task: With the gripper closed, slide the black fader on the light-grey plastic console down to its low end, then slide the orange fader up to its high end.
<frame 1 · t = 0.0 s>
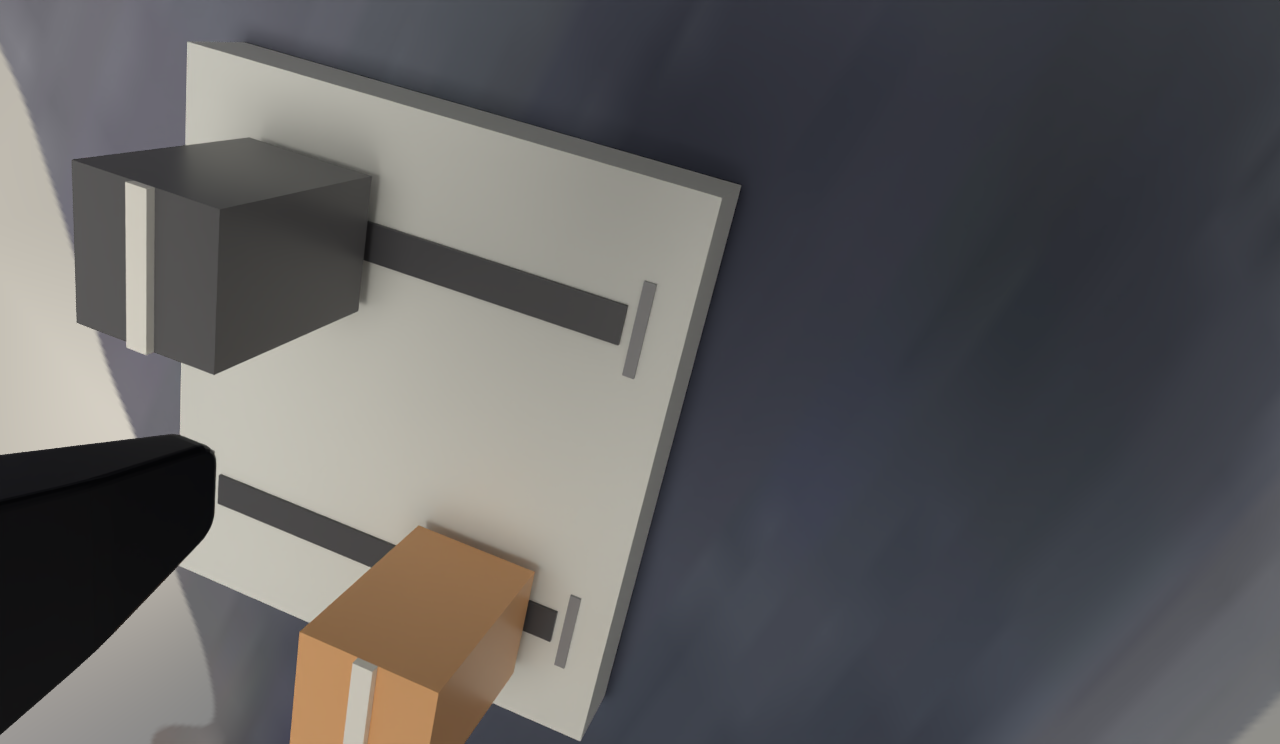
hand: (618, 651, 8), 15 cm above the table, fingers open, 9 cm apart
orange fader: (416, 657, 23), point 5 cm above the table, slide at -3.0 cm
console: (436, 390, 26), on the table
black fader: (229, 245, 20), point 5 cm above the table, slide at 3.0 cm
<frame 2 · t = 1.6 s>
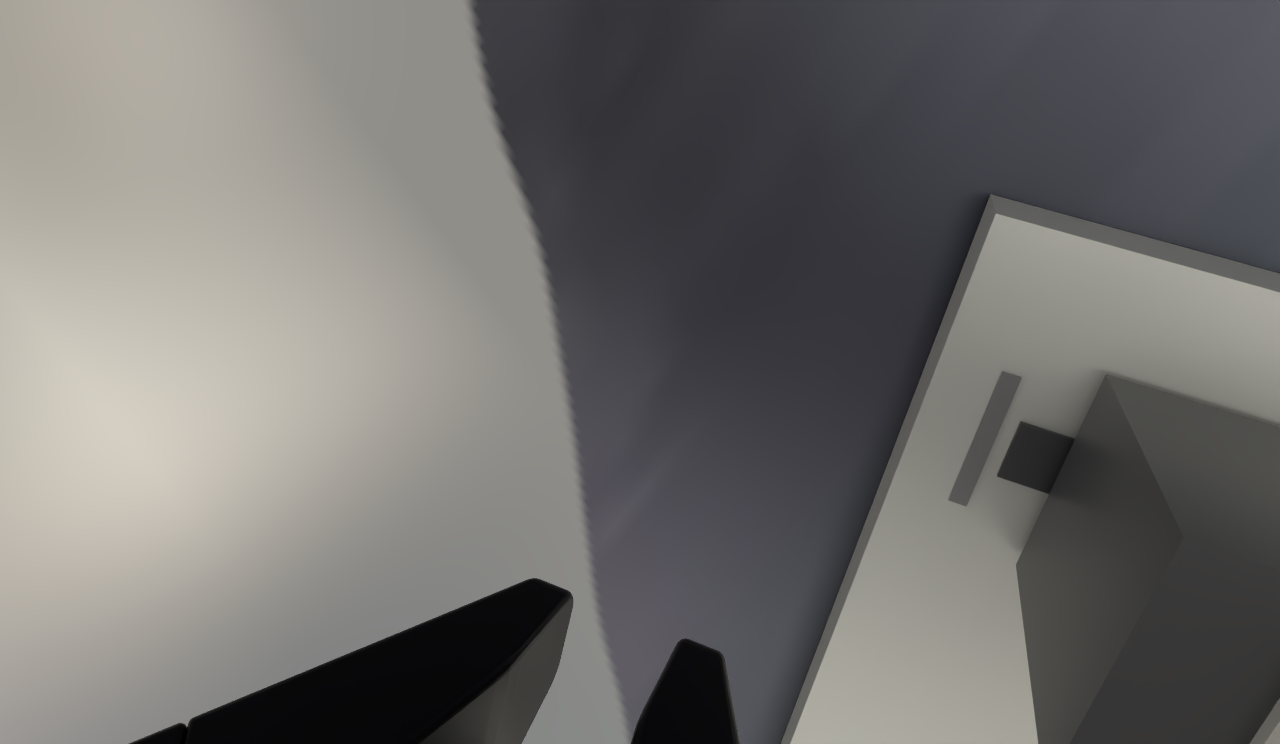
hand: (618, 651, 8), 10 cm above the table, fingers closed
console: (1206, 708, 17), on the table
black fader: (1222, 608, 11), point 5 cm above the table, slide at 3.0 cm
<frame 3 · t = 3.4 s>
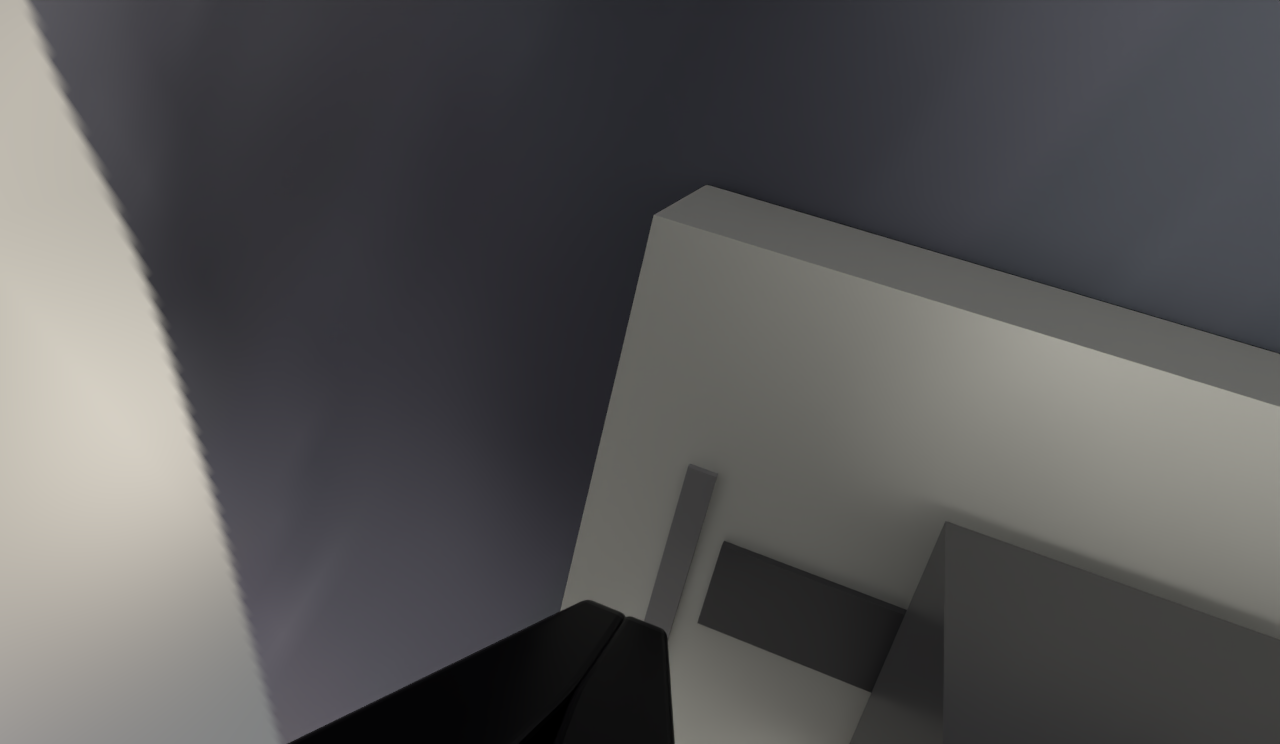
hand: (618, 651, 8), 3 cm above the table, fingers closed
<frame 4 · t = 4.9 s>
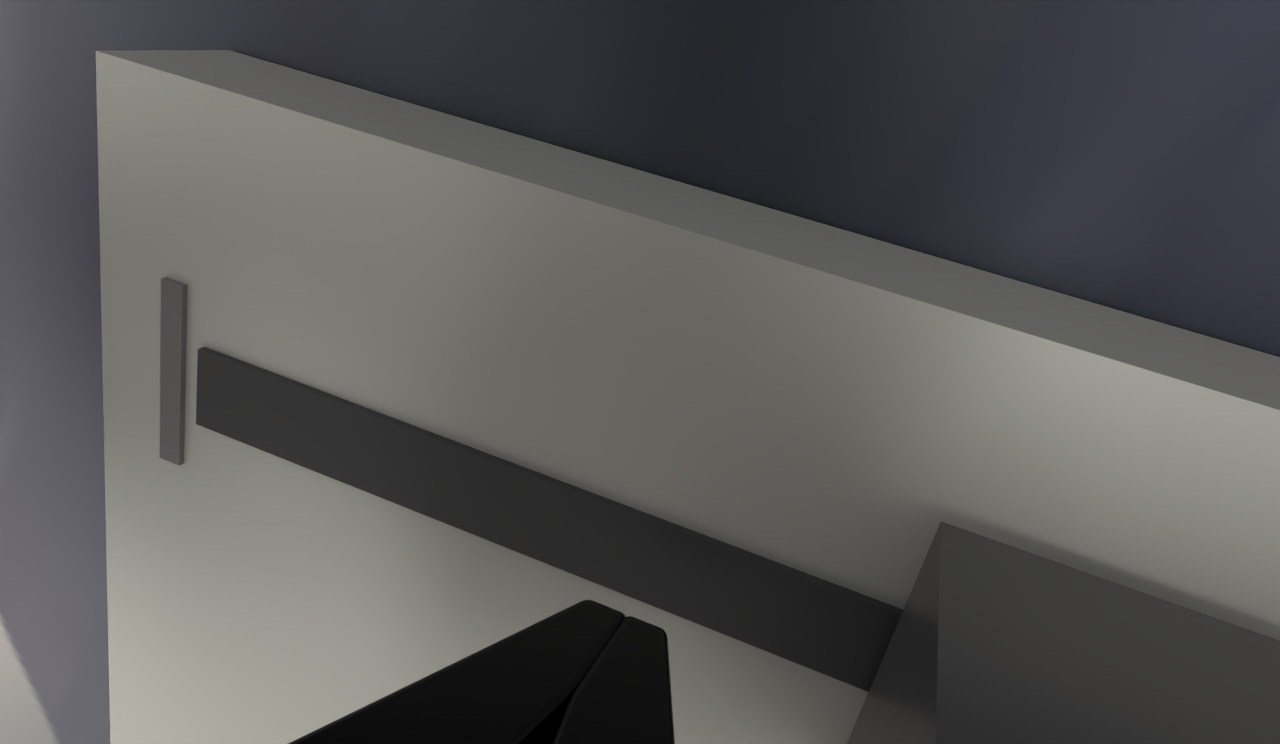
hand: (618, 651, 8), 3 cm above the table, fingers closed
console: (607, 731, 13), on the table
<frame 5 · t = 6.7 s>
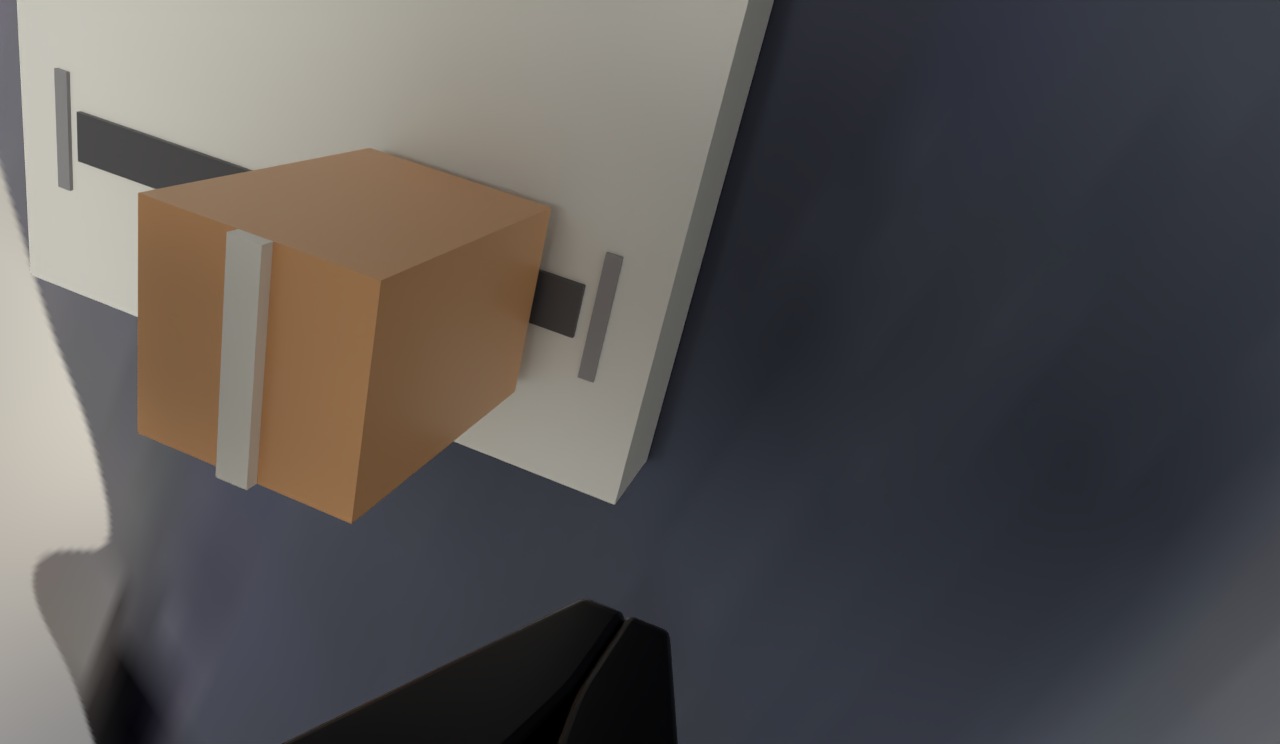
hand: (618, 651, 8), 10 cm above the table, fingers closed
orange fader: (358, 312, 14), point 5 cm above the table, slide at -3.0 cm
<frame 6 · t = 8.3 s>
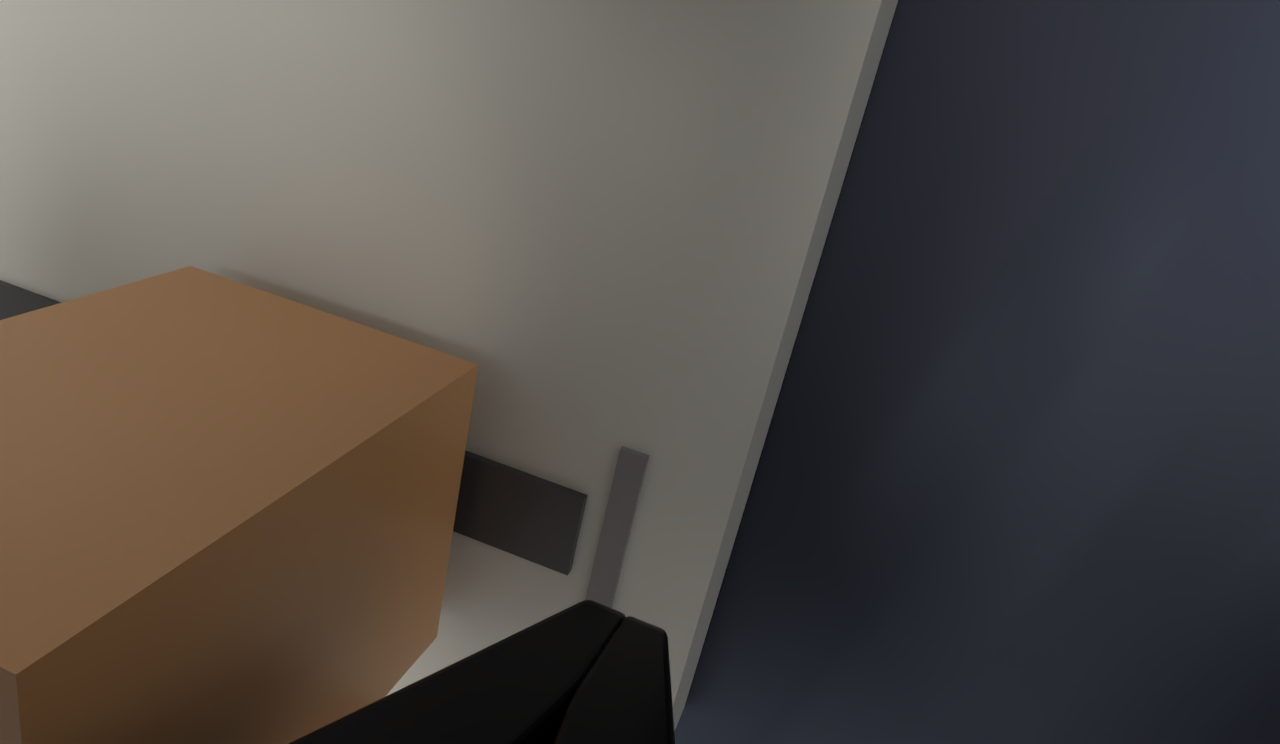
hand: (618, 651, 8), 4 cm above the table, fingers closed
orange fader: (127, 580, 8), point 5 cm above the table, slide at -2.5 cm, touching gripper
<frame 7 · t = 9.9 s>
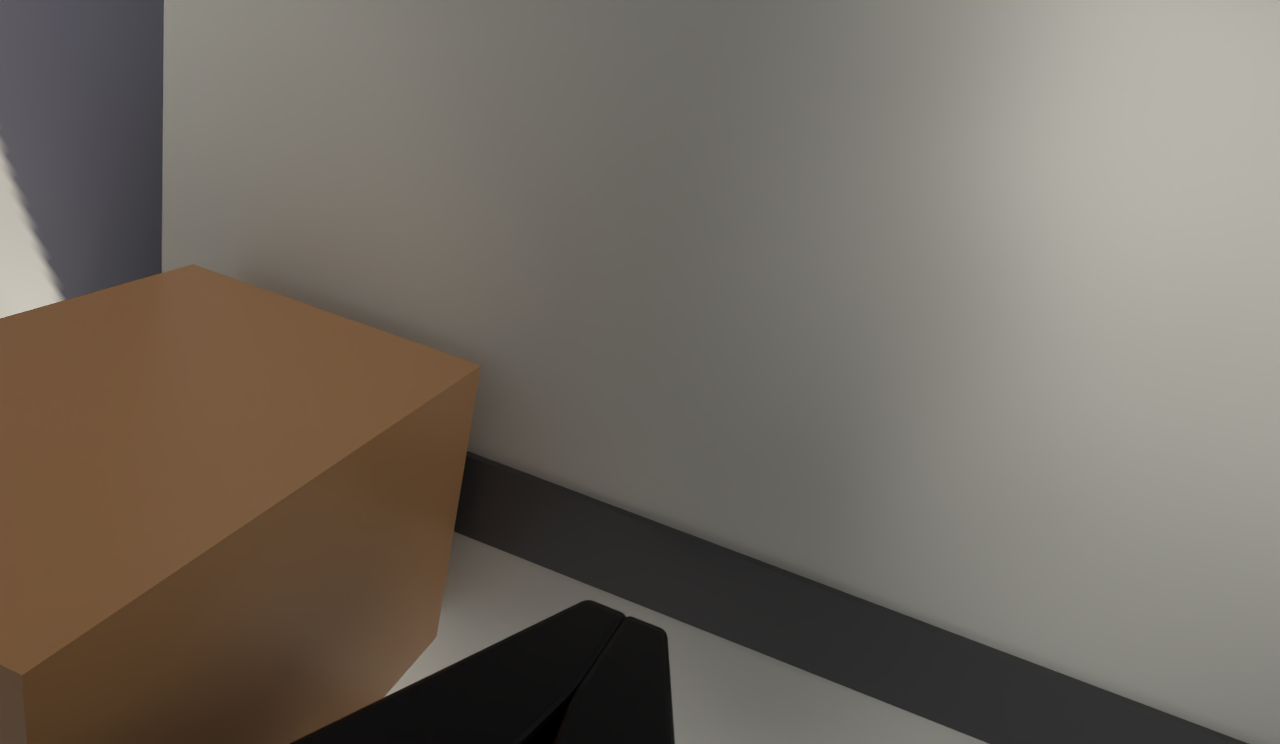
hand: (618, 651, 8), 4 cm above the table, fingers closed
orange fader: (129, 578, 8), point 5 cm above the table, slide at 4.5 cm, touching gripper
console: (852, 141, 10), on the table
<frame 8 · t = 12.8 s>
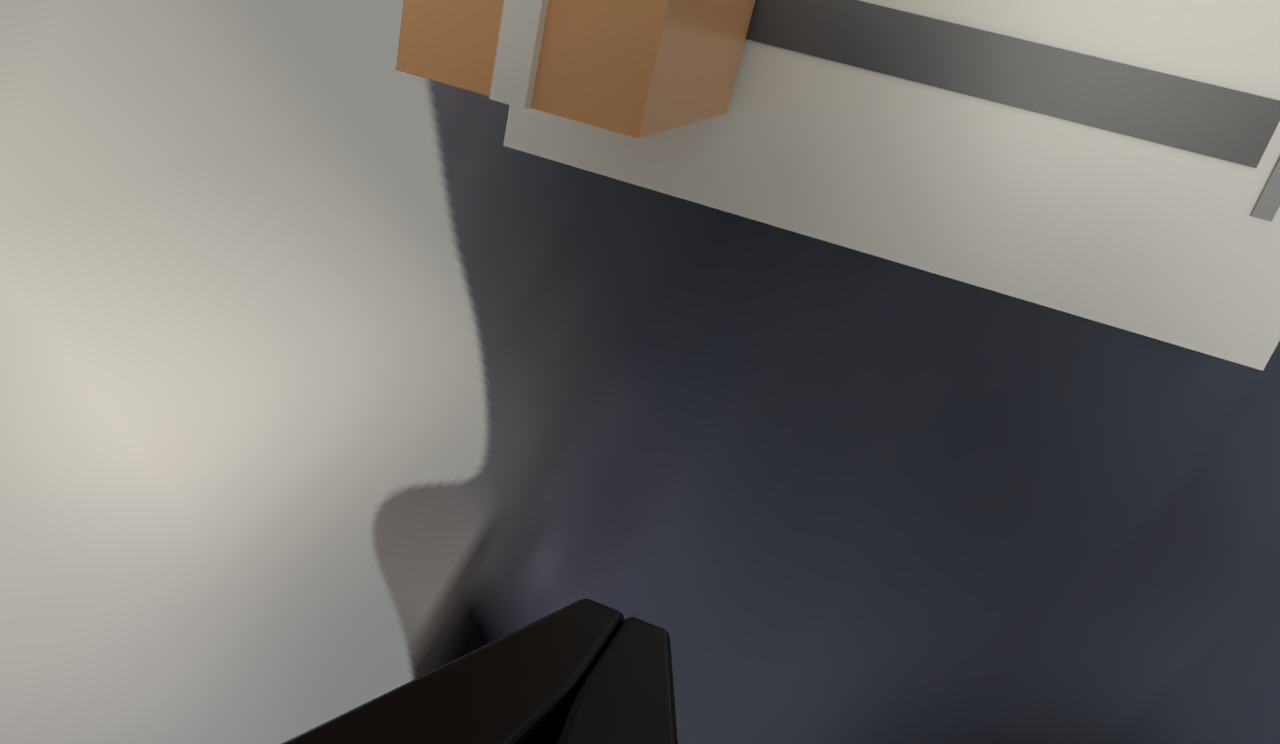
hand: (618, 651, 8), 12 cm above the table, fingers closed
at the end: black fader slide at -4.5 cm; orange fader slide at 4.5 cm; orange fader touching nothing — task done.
